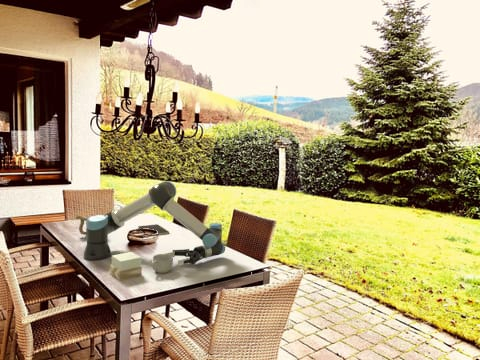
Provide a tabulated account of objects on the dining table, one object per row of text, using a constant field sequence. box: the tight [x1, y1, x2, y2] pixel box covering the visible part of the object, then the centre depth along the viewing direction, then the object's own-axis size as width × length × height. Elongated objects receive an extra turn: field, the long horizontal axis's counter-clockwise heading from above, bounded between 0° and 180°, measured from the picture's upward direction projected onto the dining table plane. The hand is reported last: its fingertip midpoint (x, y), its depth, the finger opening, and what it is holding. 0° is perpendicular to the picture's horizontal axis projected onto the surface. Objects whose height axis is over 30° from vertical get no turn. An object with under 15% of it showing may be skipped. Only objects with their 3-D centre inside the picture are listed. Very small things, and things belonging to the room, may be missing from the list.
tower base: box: [109, 263, 143, 281], centre depth 202 cm, size 12×12×5 cm
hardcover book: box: [137, 223, 170, 236], centre depth 288 cm, size 16×23×2 cm
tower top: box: [111, 251, 142, 271], centre depth 202 cm, size 11×11×5 cm
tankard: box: [75, 215, 89, 239], centre depth 265 cm, size 20×13×15 cm, turn 84°
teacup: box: [150, 253, 174, 274], centre depth 207 cm, size 14×11×8 cm
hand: (171, 259), depth 211 cm, fingers open, 13 cm apart
